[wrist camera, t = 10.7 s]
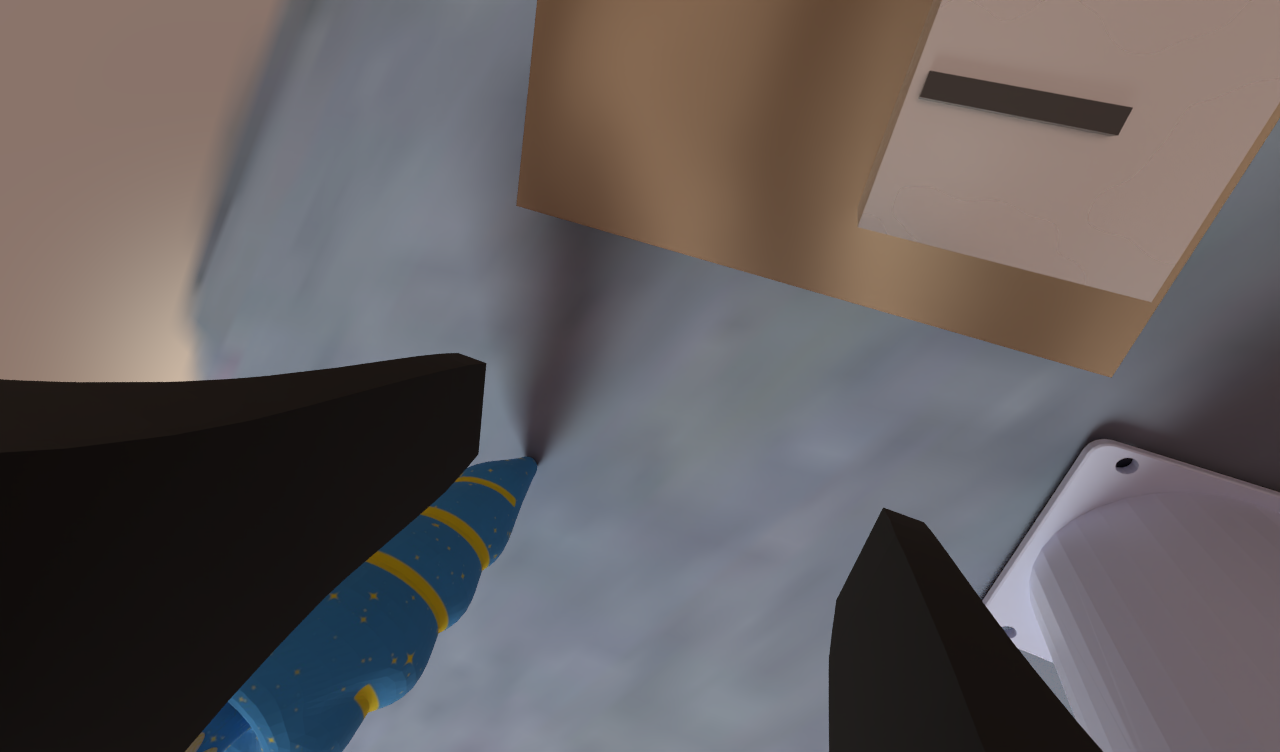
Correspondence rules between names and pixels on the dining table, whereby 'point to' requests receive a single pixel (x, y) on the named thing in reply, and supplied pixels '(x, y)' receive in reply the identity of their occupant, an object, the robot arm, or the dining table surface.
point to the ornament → (375, 623)
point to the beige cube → (1074, 131)
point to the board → (780, 161)
